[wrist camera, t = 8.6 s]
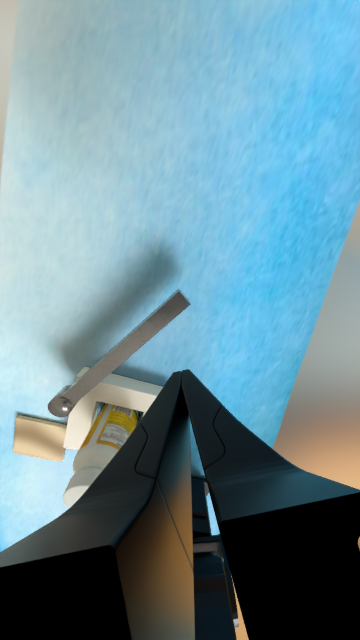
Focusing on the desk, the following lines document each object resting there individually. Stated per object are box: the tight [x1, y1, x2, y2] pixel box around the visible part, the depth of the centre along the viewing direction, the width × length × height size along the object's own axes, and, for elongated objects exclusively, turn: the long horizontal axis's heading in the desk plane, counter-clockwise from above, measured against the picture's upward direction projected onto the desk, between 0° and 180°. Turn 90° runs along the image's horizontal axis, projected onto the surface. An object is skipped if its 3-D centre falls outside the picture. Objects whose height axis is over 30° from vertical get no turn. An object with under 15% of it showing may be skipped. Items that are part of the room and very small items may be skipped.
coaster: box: [13, 415, 67, 462], centre depth 24 cm, size 7×7×1 cm
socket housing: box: [63, 367, 163, 450], centre depth 23 cm, size 12×12×2 cm
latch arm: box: [48, 289, 190, 417], centre depth 17 cm, size 19×2×2 cm, turn 131°
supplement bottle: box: [63, 403, 139, 508], centre depth 19 cm, size 5×5×10 cm
